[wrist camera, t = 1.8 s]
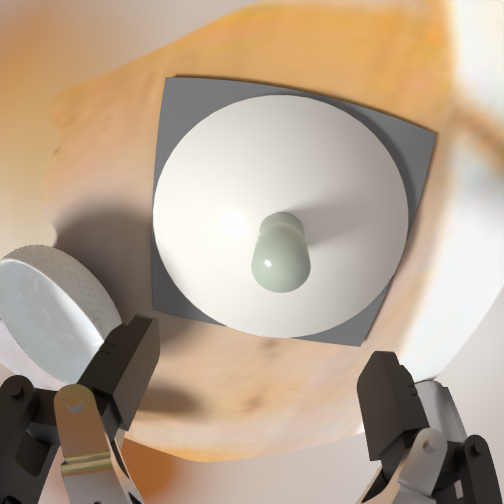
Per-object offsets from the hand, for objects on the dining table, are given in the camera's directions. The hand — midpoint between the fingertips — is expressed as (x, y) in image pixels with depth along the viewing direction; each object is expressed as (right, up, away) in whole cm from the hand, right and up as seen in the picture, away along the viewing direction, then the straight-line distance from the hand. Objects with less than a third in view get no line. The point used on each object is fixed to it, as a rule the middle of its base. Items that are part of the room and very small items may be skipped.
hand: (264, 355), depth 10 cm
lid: (+2, +5, +11) cm, 12 cm away
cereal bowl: (-20, -1, +17) cm, 26 cm away
